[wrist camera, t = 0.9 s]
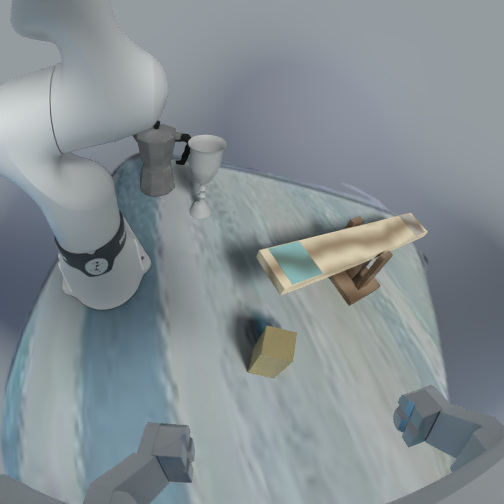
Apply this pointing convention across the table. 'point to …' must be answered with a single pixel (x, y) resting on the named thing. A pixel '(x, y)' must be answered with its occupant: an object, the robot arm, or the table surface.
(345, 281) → the beam stand
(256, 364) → the tall olive textured block
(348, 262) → the balance beam
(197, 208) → the chalice
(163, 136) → the coffeepot
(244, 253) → the table surface
